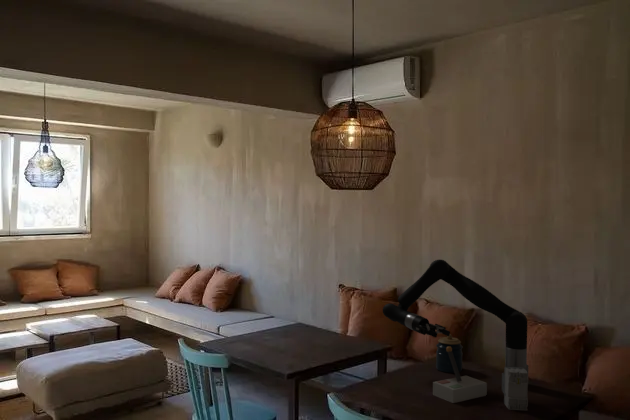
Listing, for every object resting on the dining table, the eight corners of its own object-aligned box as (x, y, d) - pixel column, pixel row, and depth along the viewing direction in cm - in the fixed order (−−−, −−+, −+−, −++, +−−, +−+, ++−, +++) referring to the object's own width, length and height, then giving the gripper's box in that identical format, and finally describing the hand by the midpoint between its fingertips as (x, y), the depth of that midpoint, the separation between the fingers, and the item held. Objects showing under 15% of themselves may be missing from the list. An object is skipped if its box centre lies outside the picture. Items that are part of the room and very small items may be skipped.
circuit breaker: (518, 398, 244) (519, 363, 244) (527, 410, 230) (528, 373, 230) (500, 397, 245) (501, 362, 244) (508, 409, 230) (509, 372, 230)
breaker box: (465, 387, 257) (466, 374, 257) (486, 395, 247) (486, 382, 247) (432, 394, 247) (433, 381, 247) (453, 403, 237) (453, 389, 237)
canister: (436, 372, 281) (437, 336, 281) (435, 365, 294) (435, 330, 294) (463, 374, 279) (464, 337, 279) (461, 366, 292) (461, 332, 291)
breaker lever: (459, 381, 249) (448, 346, 255) (463, 380, 247) (452, 345, 253) (455, 382, 247) (444, 347, 253) (459, 381, 245) (447, 345, 251)
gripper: (407, 316, 264) (433, 327, 251) (428, 314, 272) (454, 325, 259) (404, 331, 264) (430, 344, 251) (425, 329, 273) (452, 341, 260)
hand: (442, 334), depth 255 cm, fingers open, 8 cm apart
